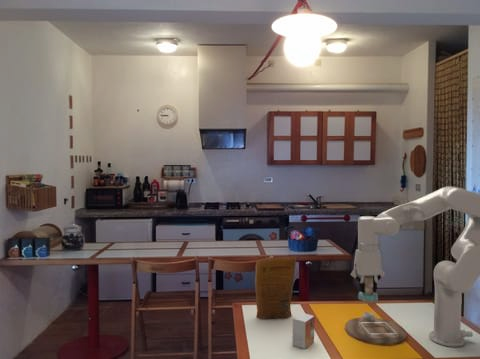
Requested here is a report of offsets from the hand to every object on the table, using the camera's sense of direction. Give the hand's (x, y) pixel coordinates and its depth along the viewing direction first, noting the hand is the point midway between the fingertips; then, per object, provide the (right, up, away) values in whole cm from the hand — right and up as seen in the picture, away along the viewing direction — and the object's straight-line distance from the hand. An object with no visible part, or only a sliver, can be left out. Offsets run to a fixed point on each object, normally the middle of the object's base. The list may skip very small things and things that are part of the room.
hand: (368, 291), depth 164 cm
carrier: (+4, -18, +5) cm, 20 cm away
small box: (-27, -19, -6) cm, 34 cm away
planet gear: (0, -3, 0) cm, 3 cm away
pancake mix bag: (-36, -17, +19) cm, 45 cm away
